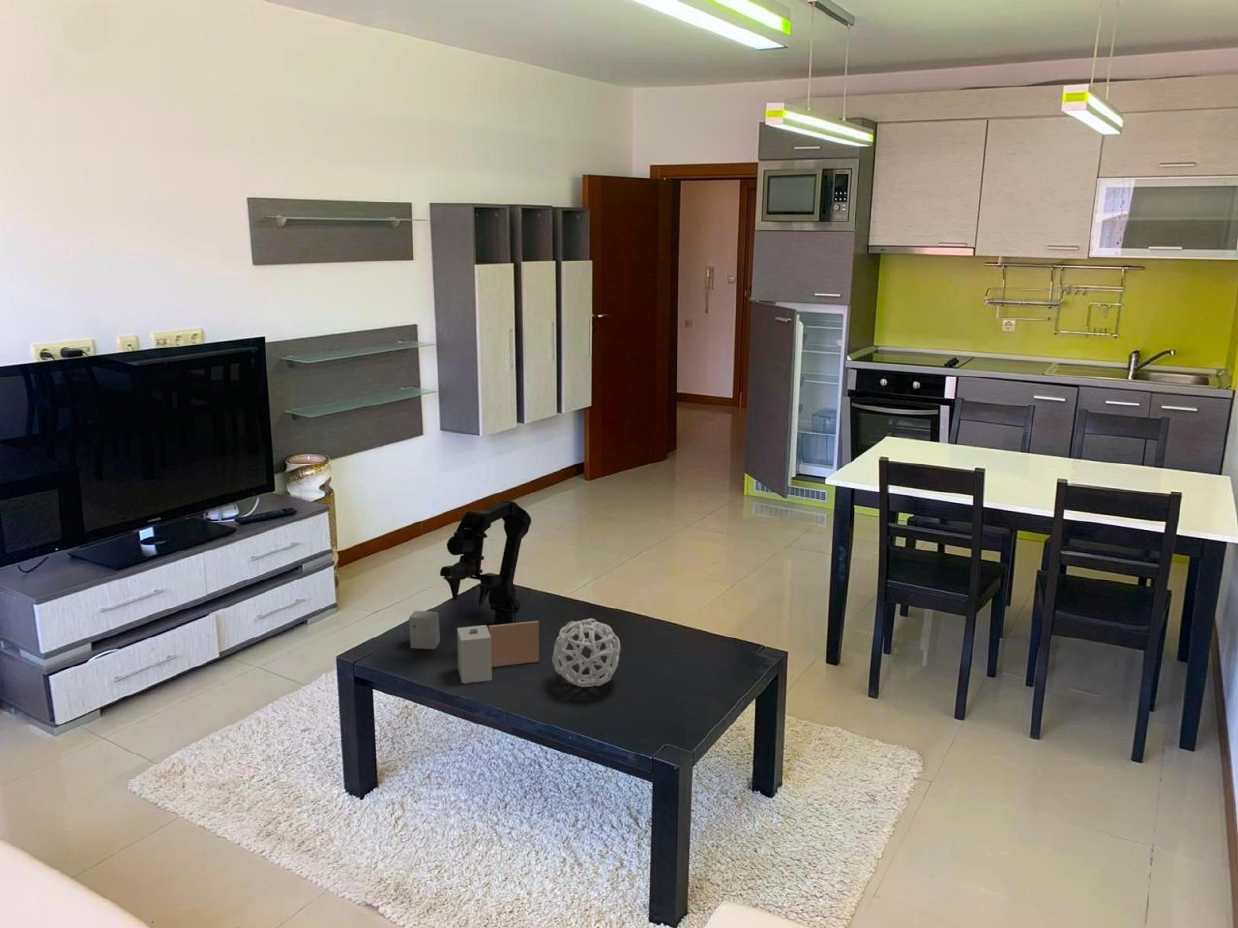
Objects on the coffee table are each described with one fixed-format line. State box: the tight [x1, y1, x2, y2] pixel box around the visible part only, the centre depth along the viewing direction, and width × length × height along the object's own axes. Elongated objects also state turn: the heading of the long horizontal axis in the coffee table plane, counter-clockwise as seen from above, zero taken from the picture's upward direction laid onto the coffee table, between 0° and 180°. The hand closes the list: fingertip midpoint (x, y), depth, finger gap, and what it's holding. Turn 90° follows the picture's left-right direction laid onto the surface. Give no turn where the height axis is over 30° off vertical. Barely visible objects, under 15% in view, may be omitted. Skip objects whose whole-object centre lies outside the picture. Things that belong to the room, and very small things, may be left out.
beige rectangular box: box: [456, 624, 493, 684], centre depth 271 cm, size 10×9×14 cm
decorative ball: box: [551, 617, 622, 688], centre depth 265 cm, size 20×20×19 cm
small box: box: [408, 610, 441, 650], centre depth 290 cm, size 8×6×10 cm
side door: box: [488, 620, 540, 668], centre depth 278 cm, size 1×15×13 cm, turn 107°
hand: (467, 603), depth 282 cm, fingers open, 9 cm apart
